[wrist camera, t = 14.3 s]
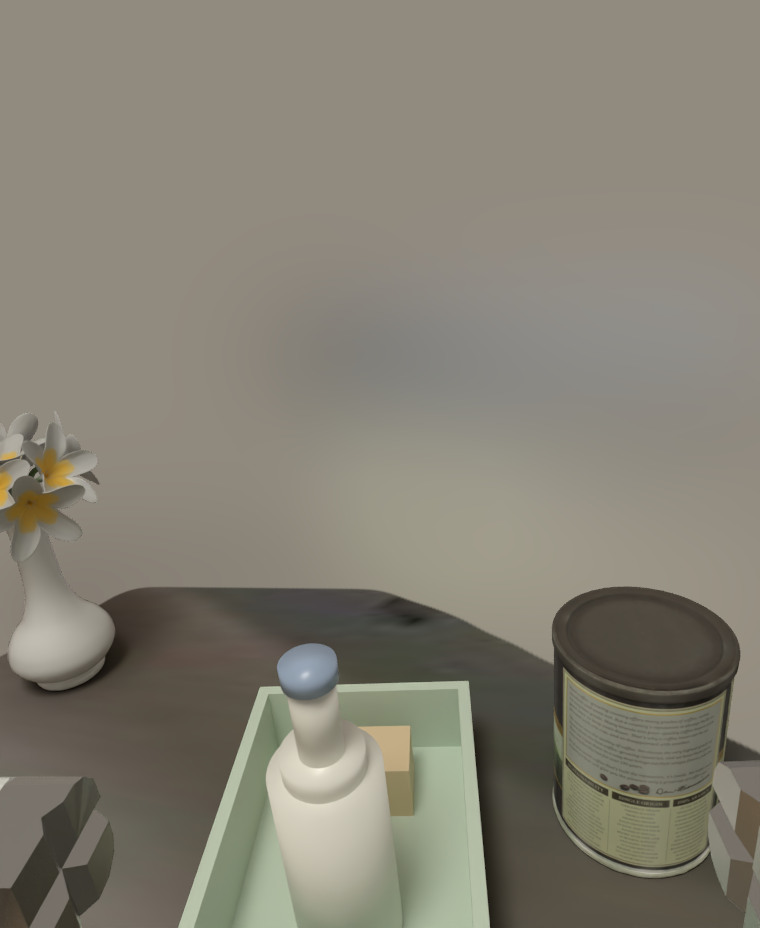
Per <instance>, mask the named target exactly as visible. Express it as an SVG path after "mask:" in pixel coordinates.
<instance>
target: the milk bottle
mask: <svg viewBox="0 0 760 928" xmlns="http://www.w3.org/2000/svg"><path fill="white" fill-rule="evenodd" d="M277 670H278V675H279V680H280V686H281V689H282V691H283V693H284V694H285V695H287V699H288V705H289V710H290V715H291V720H292V726H293V730H292V731H291V732H290V733H289V734H288V735H287V736H286V737H285V739H284V740H283V742H282V744H281V746H280V747H279V748H278V749H277V750H276V752H275V753H274V755H273V756H272V758H271V760H270V762H269V765H268V767H267V772H266V786H267V791H268V796H269V800H270V805H271V809H272V814H273V818H274V823H275V828H276V832H277V837H278V841H279V846H280V850H281V855H282V860H283V864H284V869H285V873H286V878H287V882H288V887H289V892H290V896H291V901H292V905H293V910H294V914H295V919H296V923H297V928H403V913H402V905H401V897H400V889H399V881H398V873H397V865H396V857H395V849H394V841H393V833H392V825H391V817H390V809H389V801H388V793H387V785H386V777H385V769H384V761H383V755H382V751H381V749H380V747H379V745H378V743H377V742H376V741H375V739H374V738H373V737H372V736H371V735H370V734H368V733H367V732H365V731H364V730H362V729H360V728H358V727H357V726H356V725H354V724H353V723H352V722H350V721H348V720H345V719H342V718H341V713H340V706H339V699H338V693H337V686H336V684H337V682H338V680H339V672H338V665H337V658H336V654H335V652H334V651H333V650H332V649H331V648H329V647H328V646H325V645H322V644H304V645H300V646H297V647H295V648H293V649H291V650H289V651H287V652H286V653H285V654H284V655H283V656H282V657H281V658H280V660H279V662H278V665H277Z"/></svg>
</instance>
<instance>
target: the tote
mask: <svg viewBox="0 0 760 928" xmlns="http://www.w3.org/2000/svg"><path fill="white" fill-rule="evenodd" d="M336 686H337V693H338V699H339V706H340V713H341V718H342V719H345V720H348V721H350V722H352V723H353V724H354V725H356V726H357V727H369V726H410V727H411V738H412V749H413V759H414V809H413V816H390V817H391V825H392V833H393V841H394V849H395V857H396V865H397V873H398V881H399V889H400V897H401V905H402V913H403V928H490V922H489V910H488V899H487V887H486V876H485V865H484V853H483V842H482V830H481V819H480V808H479V796H478V785H477V773H476V762H475V750H474V739H473V728H472V716H471V705H470V693H469V682H468V681H452V682H417V683H382V684H347V685H336ZM292 730H293V726H292V720H291V715H290V710H289V705H288V699H287V695H285V694H284V693H283V691H282V689H281V686H277V687H260V689H259V692H258V695H257V698H256V701H255V704H254V707H253V710H252V713H251V716H250V719H249V721H248V724H247V727H246V730H245V733H244V736H243V739H242V742H241V745H240V748H239V751H238V754H237V757H236V760H235V763H234V766H233V768H232V771H231V774H230V777H229V780H228V783H227V786H226V789H225V792H224V795H223V798H222V801H221V804H220V807H219V810H218V813H217V815H216V818H215V821H214V824H213V827H212V830H211V833H210V836H209V839H208V842H207V845H206V848H205V851H204V854H203V857H202V860H201V862H200V865H199V868H198V871H197V874H196V877H195V880H194V883H193V886H192V889H191V892H190V895H189V898H188V901H187V904H186V907H185V909H184V912H183V915H182V918H181V921H180V924H179V927H178V928H297V923H296V919H295V914H294V910H293V905H292V901H291V896H290V892H289V887H288V882H287V878H286V873H285V869H284V864H283V860H282V855H281V850H280V846H279V841H278V837H277V832H276V828H275V823H274V818H273V814H272V809H271V805H270V800H269V796H268V791H267V786H266V772H267V767H268V765H269V762H270V760H271V758H272V756H273V755H274V753H275V752H276V750H277V749H278V748H279V747H280V746H281V744H282V742H283V740H284V739H285V737H286V736H287V735H288V734H289V733H290V732H291V731H292Z"/></svg>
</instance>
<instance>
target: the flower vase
mask: <svg viewBox="0 0 760 928" xmlns="http://www.w3.org/2000/svg"><path fill="white" fill-rule="evenodd" d="M37 427H38V419H37V417H36V416H35V415H34V414H31V413H24V414H22V415H20V416H18V417H17V418H16V419H15V420H14V421H13V423H12V424H11V426H10V428H9V431H8V434H6V429H5V428H4V426H3V425H2V424H1V423H0V532H4V531H7V534H8V536H9V538H10V541H11V546H10V552H11V556H12V558H13V560H14V561H16V562H17V564H18V567H19V571H20V575H21V578H22V582H23V587H24V594H25V607H24V612H23V617H22V619H21V621H20V622H19V624H18V625H17V627H16V629H15V630H14V632H13V634H12V636H11V638H10V641H9V645H8V663H9V665H10V667H11V669H12V670H13V672H14V673H15V674H17V675H19V676H20V677H22V678H24V679H26V680H28V681H31V682H36V683H37V684H38V685H39V686H40V687H42V688H43V689H45V690H50V691H60V690H66V689H70V688H73V687H76V686H78V685H80V684H82V683H85V682H86V681H88V680H89V679H91V678H92V677H94V676H95V675H96V674H97V673H98V672H99V671H100V670H101V668H102V667H103V665H104V662H105V655H106V654H107V652H108V651H109V649H110V648H111V646H112V643H113V640H114V637H115V626H114V622H113V620H112V618H111V617H110V615H109V614H108V613H107V612H106V611H105V610H104V609H103V608H102V607H100V606H99V605H97V604H95V603H93V602H90V601H88V600H85V599H82V598H81V597H79V596H78V595H77V594H76V593H75V592H74V591H73V590H72V589H71V588H70V586H69V585H68V583H67V582H66V580H65V578H64V576H63V574H62V571H61V569H60V567H59V564H58V561H57V559H56V556H55V553H54V550H53V547H52V545H51V542H50V539H49V536H48V535H50V536H52V537H53V538H55V539H58V540H62V541H75V540H78V539H79V538H80V537H81V536H82V530H81V527H80V526H79V525H78V523H76V521H74V520H73V519H72V518H70V517H69V516H68V515H66V514H64V513H63V512H61V511H60V510H58V509H57V508H60V509H65V508H68V507H70V506H72V505H74V504H75V503H77V502H78V501H79V500H80V499H83V500H85V501H88V502H90V503H96V502H97V501H98V500H97V499H98V498H97V495H96V492H95V491H94V489H93V488H92V487H91V486H90V485H89V484H88V483H87V482H86V481H85V480H83V479H81V478H74V477H75V476H77V475H80V476H82V477H84V478H86V479H87V480H89V481H93V482H94V483H96V484H99V482H98V480H97V478H96V477H95V476H94V474H93V473H92V472H91V471H90V470H92V469H93V468H95V466H96V465H97V463H98V458H97V456H96V455H95V454H94V453H92V452H90V451H86V450H81V448H80V444H79V442H78V440H77V439H76V437H75V436H74V435H72V434H70V435H68V436H67V437H66V438H65V435H64V432H63V429H62V425H61V423H60V420H59V417H58V416H57V413H56V411H54V422H51V423H50V424H49V425H48V427H47V430H46V438H43V439H37V440H34V441H30V440H31V439H32V437H33V435H34V434H35V432H36V430H37ZM33 464H34V465H35V468H33V469H32V470H31V471H30V467H31V466H33ZM29 471H30V473H29ZM37 472H39V474H40V477H38V478H36V479H35V478H34V476H35V474H36V473H37ZM28 473H29V475H28ZM71 477H72V478H71ZM41 482H43V484H42V483H41ZM44 491H45V492H44Z"/></svg>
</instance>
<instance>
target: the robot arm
mask: <svg viewBox="0 0 760 928" xmlns="http://www.w3.org/2000/svg"><path fill="white" fill-rule="evenodd" d="M712 785H713V787H714V790H715V792H716V794H717V796H718V798H719V800H720V802H719V803H718V804H717V805H716V806H715V807H714V808H713V809H711V810H710V811H709V821H708V837H709V844H710V851H711V857H712V860H713V864H714V867H715V870H716V874H717V877H718V879H719V881H720V884H721V886H722V889H723V891H724V893H725V896H726V897H727V898H728V899H729V900H730V901H731V902H733V903H734V904H735V905H736V906H737V907H738V908H740V909H741V910H742V911H743V912H744V913H745V921H744V928H760V761H730V762H719V763H718V765H717V766H716V768H715V769H714V776H713V783H712ZM100 797H101V796H100V794H99V791H98V789H97V786H96V784H95V782H94V779H93V778H87V777H29V776H17V777H0V928H82V926H81V920H80V915H82V914H83V913H84V912H85V911H86V910H87V909H88V908H89V907H91V906H92V905H93V904H94V903H95V902H96V901H97V900H98V899H99V898H100V896H101V894H102V891H103V889H104V887H105V885H106V882H107V880H108V878H109V875H110V870H111V865H112V860H113V855H114V839H113V832H112V829H111V826H110V823H109V820H107V819H106V818H105V817H104V816H102V815H101V814H100V813H99V812H97V811H96V810H95V809H94V808H95V806H96V804H97V802H98V800H99V799H100Z"/></svg>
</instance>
